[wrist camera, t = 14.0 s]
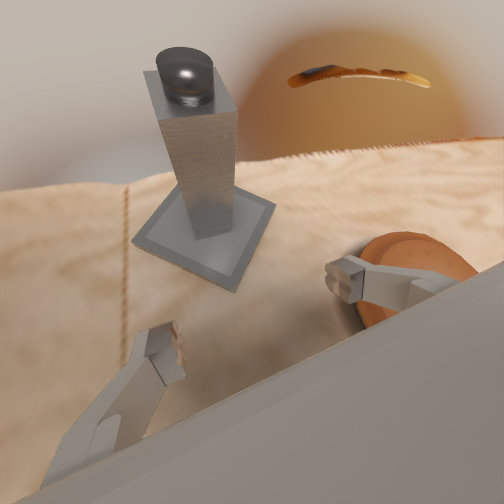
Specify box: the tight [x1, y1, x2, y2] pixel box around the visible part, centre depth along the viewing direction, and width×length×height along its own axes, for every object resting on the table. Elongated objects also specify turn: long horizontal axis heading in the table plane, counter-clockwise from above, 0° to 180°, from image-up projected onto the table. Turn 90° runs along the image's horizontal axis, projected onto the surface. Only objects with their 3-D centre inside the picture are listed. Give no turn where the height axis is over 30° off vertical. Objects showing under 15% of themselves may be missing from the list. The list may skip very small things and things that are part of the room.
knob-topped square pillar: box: [143, 47, 238, 241], centre depth 16 cm, size 4×4×14 cm
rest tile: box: [131, 184, 276, 293], centre depth 23 cm, size 12×12×1 cm
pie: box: [356, 231, 479, 329], centre depth 20 cm, size 16×16×5 cm
